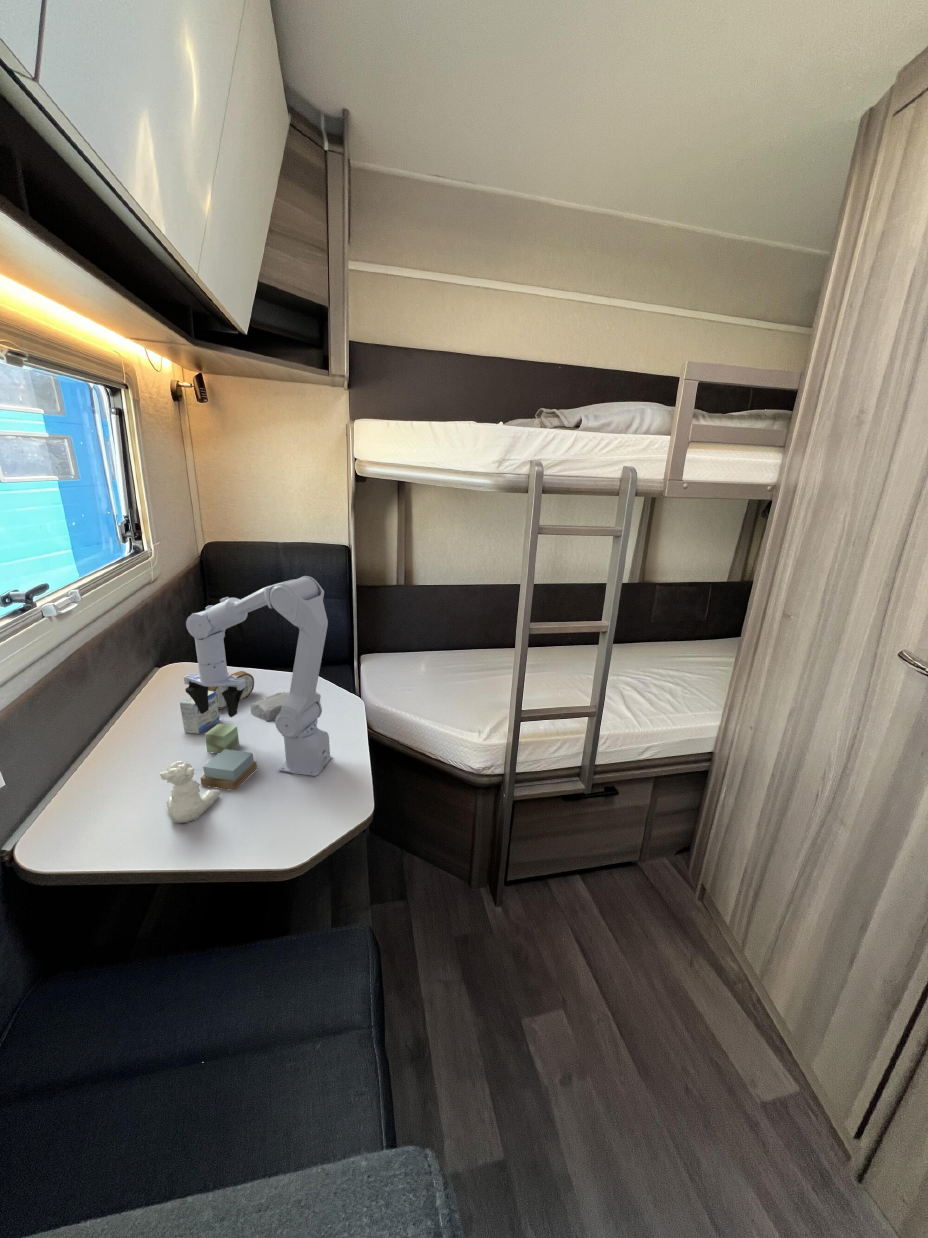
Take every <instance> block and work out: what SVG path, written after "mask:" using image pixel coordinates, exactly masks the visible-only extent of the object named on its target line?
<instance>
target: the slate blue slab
mask: <svg viewBox="0 0 928 1238" xmlns="http://www.w3.org/2000/svg"><path fill="white" fill-rule="evenodd" d="M253 763H254V753H253V752H249V751H248V752H247V751H244V750H243V751H241V750H234V749H232V750H228V749H224V750H223V751H222V752H221V753H219V754H216V756H214V757H213V758H212V759H210V761H208V762H207V763H206V764H205V765H203V775H205V777H210V778H217V779H224V780H231V781H235V780H236V779H237V778H238V777H239V776H240V775H241V774H242V773H243V772H244V771H245V770H246V769H248V768H249V767H250V766H251V765H252V764H253Z"/></svg>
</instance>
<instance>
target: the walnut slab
mask: <svg viewBox="0 0 928 1238" xmlns="http://www.w3.org/2000/svg"><path fill="white" fill-rule="evenodd" d="M256 769H257V770H258V763H257V761H254V763H253V764H252V765H251V766H250V767H249V768H248V769H246V770H245V771H244V772H243V773H242V774H241V775H240V776H239V777H238V778H237V779H236V780H235V781H231V780H224V779H217V778H210V777H205V775H204V774H203V775H201V777H200V786H201V785H202V786H203V787H208V786H210V787H209V788H214V787H217V788H216V789H221V788H222V789H223V790H228V789H229V790H228V791H234V790H235V791H236V790H238V789H239V788H240V787H241V786H242V785H243V784H244V783H245V782H246V781H247V780H246V779H247V778H248V777H249V776H250V775H251V774H252V773H253V772H254V771H255V770H256ZM257 770H256V771H257ZM256 771H255V772H256ZM255 772H254V773H255ZM254 773H253V774H254ZM253 774H252V775H253ZM252 775H251V776H252ZM251 776H250V777H251ZM250 777H249V778H250ZM249 778H248V779H249ZM245 780H246V781H245ZM244 781H245V782H244ZM243 782H244V783H243ZM242 783H243V784H242ZM241 784H242V785H241ZM240 785H241V786H240ZM239 786H240V787H239Z"/></svg>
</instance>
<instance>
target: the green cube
mask: <svg viewBox="0 0 928 1238" xmlns="http://www.w3.org/2000/svg"><path fill="white" fill-rule="evenodd" d="M204 738H205V745H206V752H207V753H210V752H213V753H212V754H217V753H221V752H222V751H223V750H224V749H228V750H234V749H235V748H236V747H237V746H238V745H240V741H239V740H240V739H239V731H238V725H229V724H222V723H218V724H216V725H215V726H214V727H213V728H211V729H210V730H208V731H207V732H205V733H204Z"/></svg>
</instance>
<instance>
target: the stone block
mask: <svg viewBox="0 0 928 1238" xmlns="http://www.w3.org/2000/svg"><path fill="white" fill-rule="evenodd" d="M289 693H290V691H289V692H284V691H283V692H276V693H274V694H272V695H269V696H267V697H265V698H264V699H262V700H259V701H255V702H253V703H251V704H250V714H251V715H252V716H253V717H255V718H258V719H261V720H262V721H266V722H271V721H275V719H276V716H277V715H278V714H279V713H280V711H281V706H282V704H283V703H284V701H285V699H286V698H287V696H288V695H289Z"/></svg>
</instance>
